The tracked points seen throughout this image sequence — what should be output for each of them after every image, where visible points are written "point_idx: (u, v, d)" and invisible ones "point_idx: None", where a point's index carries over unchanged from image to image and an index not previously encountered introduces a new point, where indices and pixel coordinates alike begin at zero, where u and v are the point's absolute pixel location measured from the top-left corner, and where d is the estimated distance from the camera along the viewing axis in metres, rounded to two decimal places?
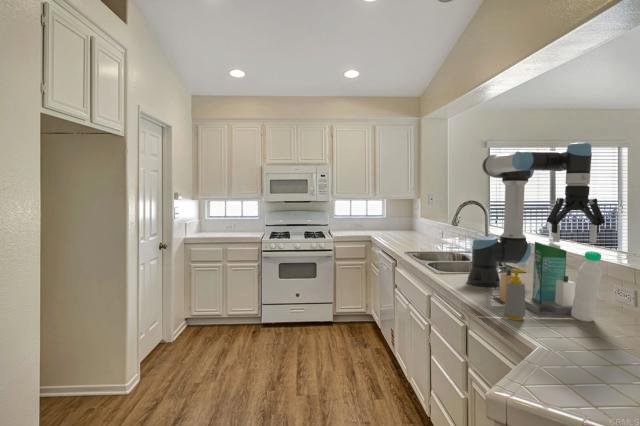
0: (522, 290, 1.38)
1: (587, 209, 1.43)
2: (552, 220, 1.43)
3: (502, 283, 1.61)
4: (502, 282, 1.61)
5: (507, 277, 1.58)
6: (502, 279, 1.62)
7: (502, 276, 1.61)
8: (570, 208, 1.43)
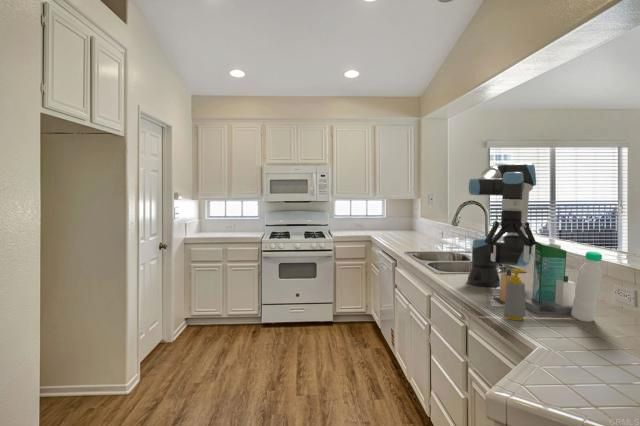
0: (522, 290, 1.38)
1: (519, 232, 1.58)
2: (488, 241, 1.58)
3: (502, 283, 1.61)
4: (502, 282, 1.61)
5: (507, 277, 1.58)
6: (502, 279, 1.62)
7: (502, 276, 1.61)
8: (504, 231, 1.58)
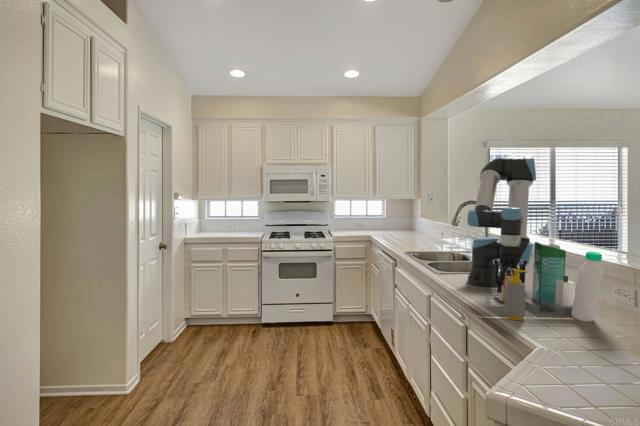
0: (522, 290, 1.38)
1: (515, 268, 1.59)
2: (496, 281, 1.59)
3: (502, 283, 1.61)
4: None
5: (507, 277, 1.58)
6: None
7: None
8: (506, 267, 1.59)
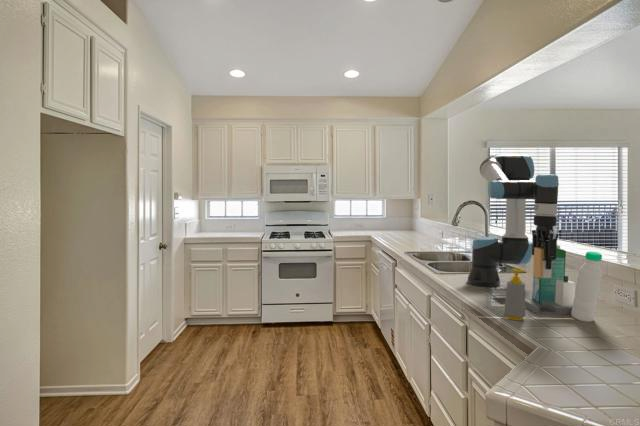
0: (522, 290, 1.38)
1: (541, 240, 1.46)
2: (532, 252, 1.53)
3: None
4: None
5: (535, 249, 1.49)
6: None
7: None
8: (536, 238, 1.50)
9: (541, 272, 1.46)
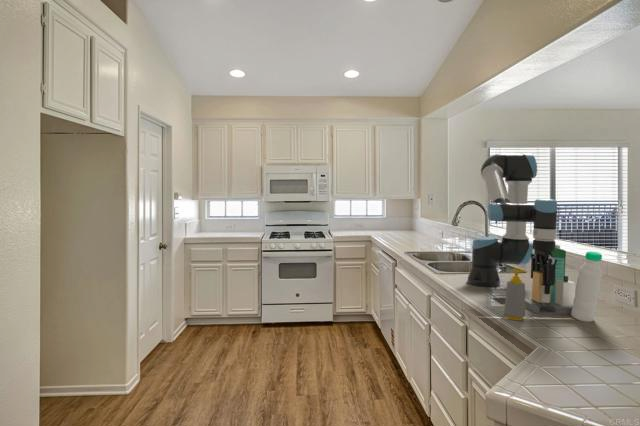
0: (522, 290, 1.38)
1: (540, 265, 1.47)
2: (531, 276, 1.54)
3: None
4: None
5: (534, 273, 1.50)
6: None
7: None
8: (535, 262, 1.50)
9: (540, 297, 1.47)
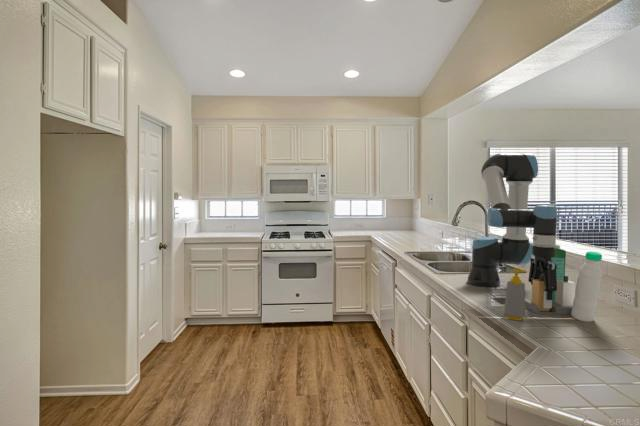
0: (522, 290, 1.38)
1: (541, 271, 1.46)
2: (529, 279, 1.55)
3: None
4: None
5: (533, 281, 1.50)
6: None
7: None
8: (534, 268, 1.51)
9: (539, 305, 1.47)
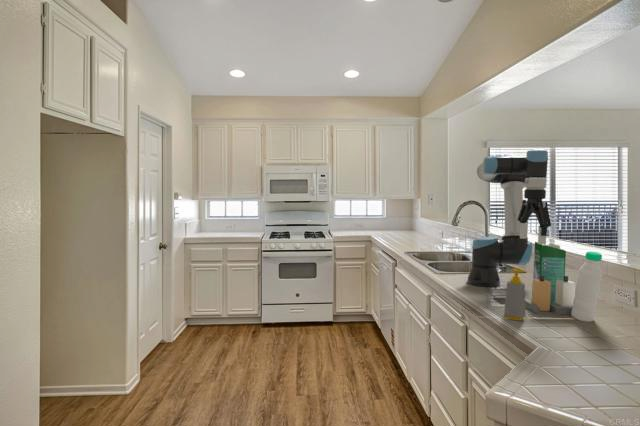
0: (522, 290, 1.38)
1: (533, 211, 1.53)
2: (518, 218, 1.66)
3: None
4: None
5: (533, 281, 1.50)
6: None
7: None
8: (525, 209, 1.59)
9: (539, 305, 1.47)
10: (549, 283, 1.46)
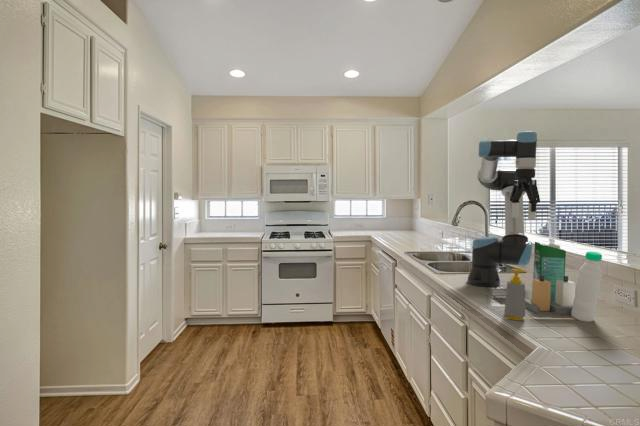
0: (522, 290, 1.38)
1: (523, 189, 1.62)
2: (510, 199, 1.74)
3: None
4: None
5: (533, 281, 1.50)
6: None
7: None
8: (516, 188, 1.68)
9: (539, 305, 1.47)
10: (549, 283, 1.46)
